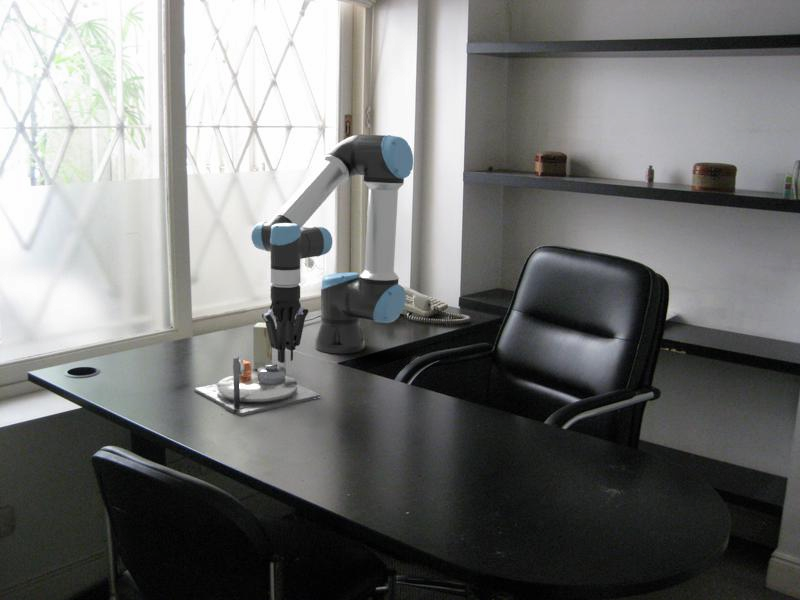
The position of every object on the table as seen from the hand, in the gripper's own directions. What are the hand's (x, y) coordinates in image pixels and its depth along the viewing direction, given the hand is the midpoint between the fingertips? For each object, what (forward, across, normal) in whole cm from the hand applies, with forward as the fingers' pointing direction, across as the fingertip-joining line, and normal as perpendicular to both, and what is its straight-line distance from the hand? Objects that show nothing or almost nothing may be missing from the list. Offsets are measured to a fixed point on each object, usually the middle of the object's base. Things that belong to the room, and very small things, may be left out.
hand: (285, 373), depth 222 cm
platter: (+3, +8, 0) cm, 9 cm away
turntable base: (+4, +8, 0) cm, 9 cm away
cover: (+1, +4, 0) cm, 4 cm away
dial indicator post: (+4, +18, +7) cm, 20 cm away
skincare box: (+4, -6, -20) cm, 21 cm away
